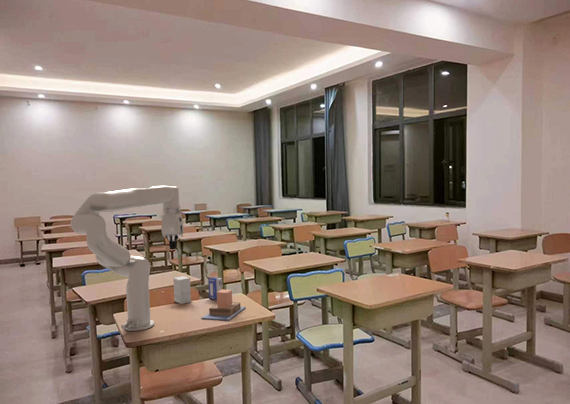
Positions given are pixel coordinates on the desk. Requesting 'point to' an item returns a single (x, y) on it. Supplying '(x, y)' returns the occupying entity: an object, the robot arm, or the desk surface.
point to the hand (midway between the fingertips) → (173, 249)
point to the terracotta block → (224, 298)
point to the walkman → (214, 286)
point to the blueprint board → (222, 316)
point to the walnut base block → (224, 309)
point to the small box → (182, 290)
